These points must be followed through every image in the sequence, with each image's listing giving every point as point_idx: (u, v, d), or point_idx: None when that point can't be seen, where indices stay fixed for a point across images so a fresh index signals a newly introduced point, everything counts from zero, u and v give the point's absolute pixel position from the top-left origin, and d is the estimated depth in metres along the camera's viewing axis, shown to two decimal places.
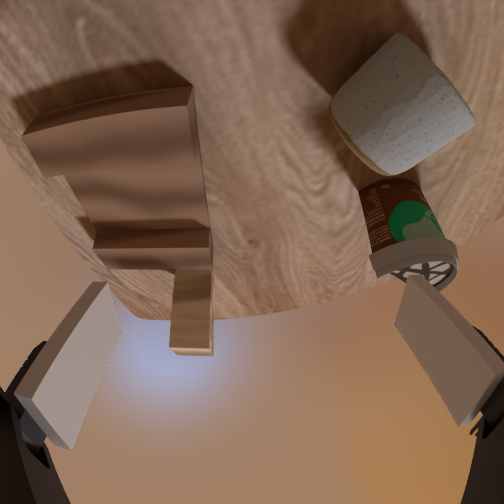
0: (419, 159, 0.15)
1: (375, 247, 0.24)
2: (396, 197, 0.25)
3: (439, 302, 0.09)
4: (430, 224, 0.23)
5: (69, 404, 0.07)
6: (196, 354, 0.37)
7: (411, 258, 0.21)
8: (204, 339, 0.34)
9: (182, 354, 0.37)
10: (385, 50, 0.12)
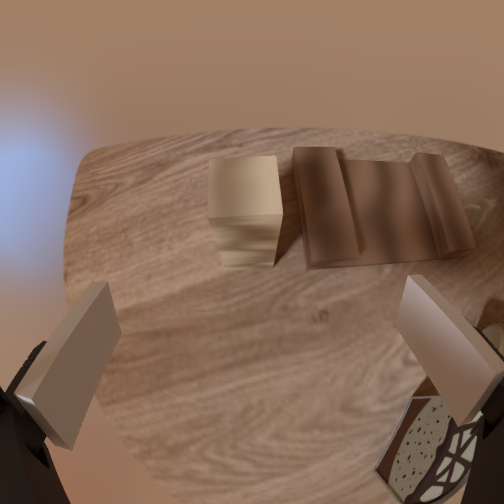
0: None
1: None
2: None
3: (439, 302, 0.09)
4: None
5: (69, 404, 0.07)
6: (222, 189, 0.20)
7: None
8: None
9: (218, 167, 0.21)
10: None
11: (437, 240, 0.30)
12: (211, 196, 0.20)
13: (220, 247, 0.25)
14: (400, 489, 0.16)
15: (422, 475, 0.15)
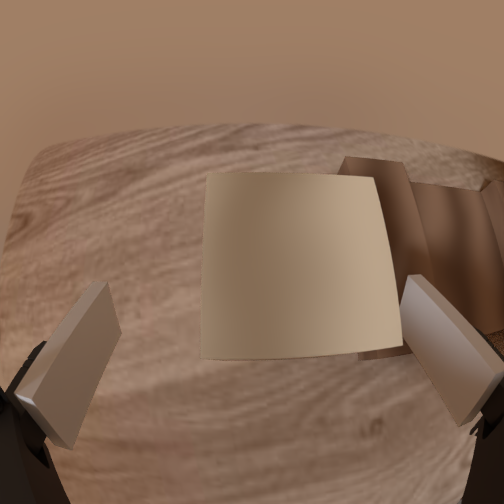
0: None
1: None
2: None
3: (439, 302, 0.09)
4: None
5: (69, 404, 0.07)
6: (243, 267, 0.07)
7: None
8: None
9: (230, 197, 0.08)
10: None
11: None
12: (210, 288, 0.07)
13: None
14: None
15: None
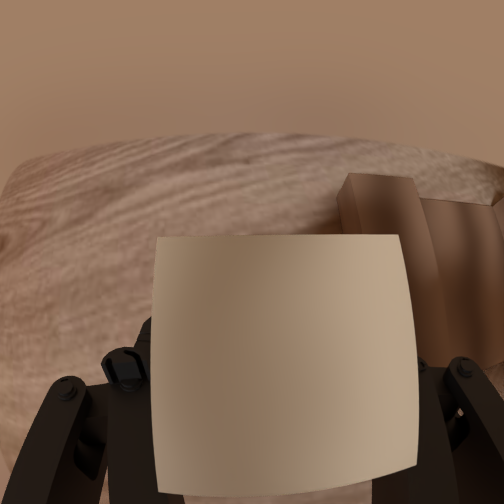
0: None
1: None
2: None
3: None
4: None
5: None
6: (207, 388, 0.05)
7: None
8: None
9: (189, 277, 0.05)
10: None
11: None
12: (163, 413, 0.04)
13: None
14: None
15: None
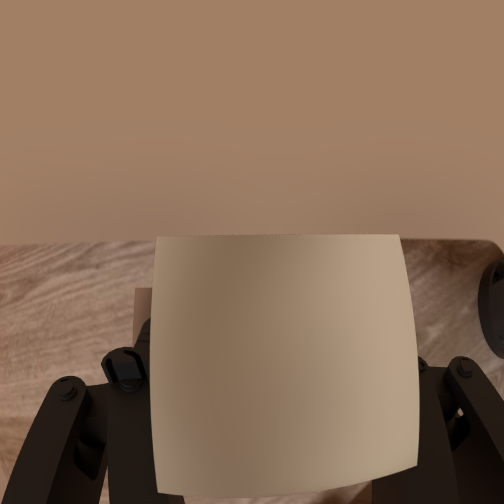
0: None
1: None
2: None
3: None
4: None
5: None
6: (207, 389, 0.05)
7: None
8: None
9: (188, 278, 0.05)
10: None
11: None
12: (162, 414, 0.04)
13: None
14: None
15: None
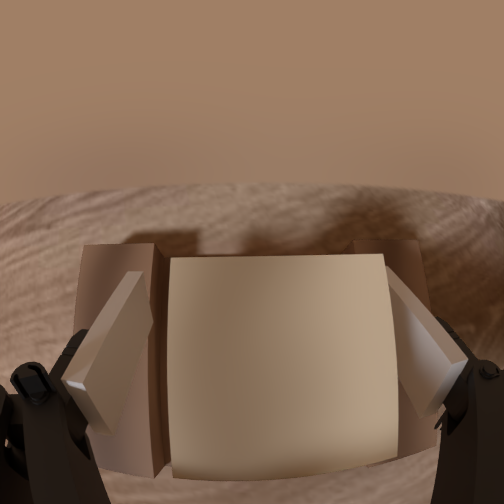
0: None
1: None
2: None
3: (401, 292, 0.10)
4: None
5: (112, 389, 0.08)
6: (216, 387, 0.05)
7: None
8: None
9: (199, 293, 0.06)
10: None
11: None
12: (178, 409, 0.05)
13: None
14: None
15: None
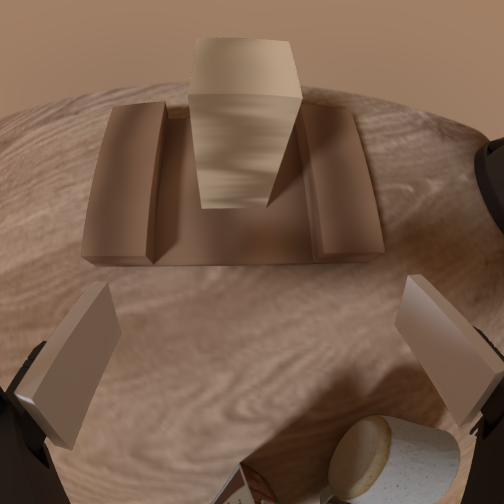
0: (393, 496, 0.12)
1: None
2: None
3: (439, 302, 0.09)
4: None
5: (69, 404, 0.07)
6: (213, 65, 0.12)
7: None
8: None
9: (209, 45, 0.12)
10: (430, 427, 0.16)
11: (313, 234, 0.22)
12: (196, 71, 0.11)
13: (199, 161, 0.16)
14: None
15: None
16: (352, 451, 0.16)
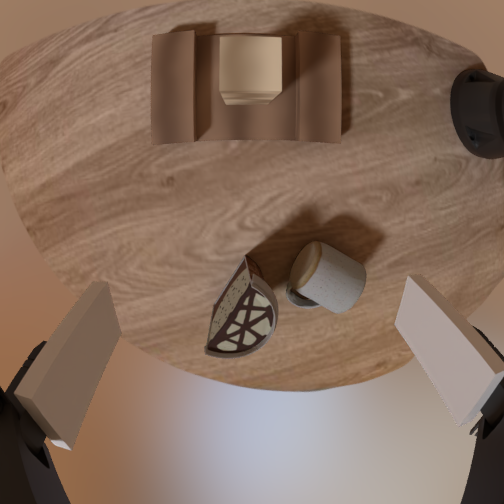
0: (319, 294, 0.35)
1: (253, 277, 0.33)
2: None
3: (439, 302, 0.09)
4: None
5: (69, 404, 0.07)
6: (232, 66, 0.20)
7: (271, 302, 0.32)
8: None
9: (228, 45, 0.19)
10: (353, 260, 0.37)
11: (296, 124, 0.32)
12: (222, 72, 0.20)
13: (225, 98, 0.26)
14: (211, 331, 0.37)
15: (218, 329, 0.35)
16: (303, 260, 0.37)
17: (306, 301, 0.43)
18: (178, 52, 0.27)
